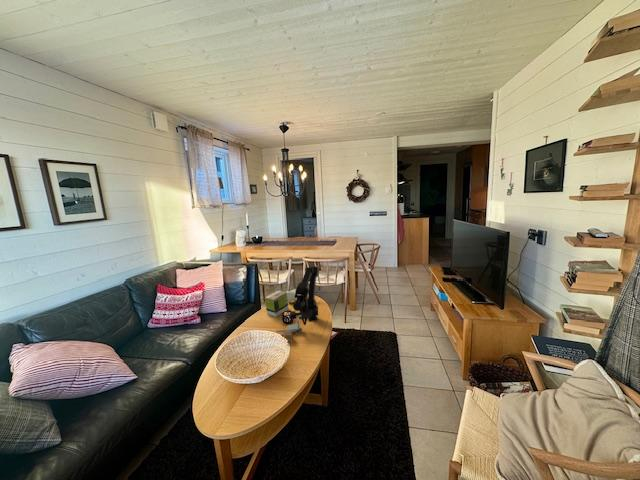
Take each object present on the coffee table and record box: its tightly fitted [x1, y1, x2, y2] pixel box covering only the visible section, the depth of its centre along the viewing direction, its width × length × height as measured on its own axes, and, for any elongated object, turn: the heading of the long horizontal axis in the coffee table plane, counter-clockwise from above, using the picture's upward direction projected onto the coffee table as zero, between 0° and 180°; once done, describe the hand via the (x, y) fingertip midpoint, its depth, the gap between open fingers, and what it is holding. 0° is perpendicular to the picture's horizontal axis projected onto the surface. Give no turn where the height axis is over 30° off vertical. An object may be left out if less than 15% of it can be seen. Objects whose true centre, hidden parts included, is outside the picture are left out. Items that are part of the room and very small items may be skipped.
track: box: [272, 327, 303, 336], centre depth 173 cm, size 8×21×1 cm, turn 100°
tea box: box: [264, 290, 290, 318], centre depth 201 cm, size 15×10×15 cm
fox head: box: [286, 286, 309, 303], centre depth 215 cm, size 13×17×20 cm
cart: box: [286, 317, 301, 332], centre depth 173 cm, size 6×8×7 cm
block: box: [283, 330, 293, 343], centre depth 164 cm, size 4×4×5 cm
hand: (304, 325), depth 174 cm, fingers closed
